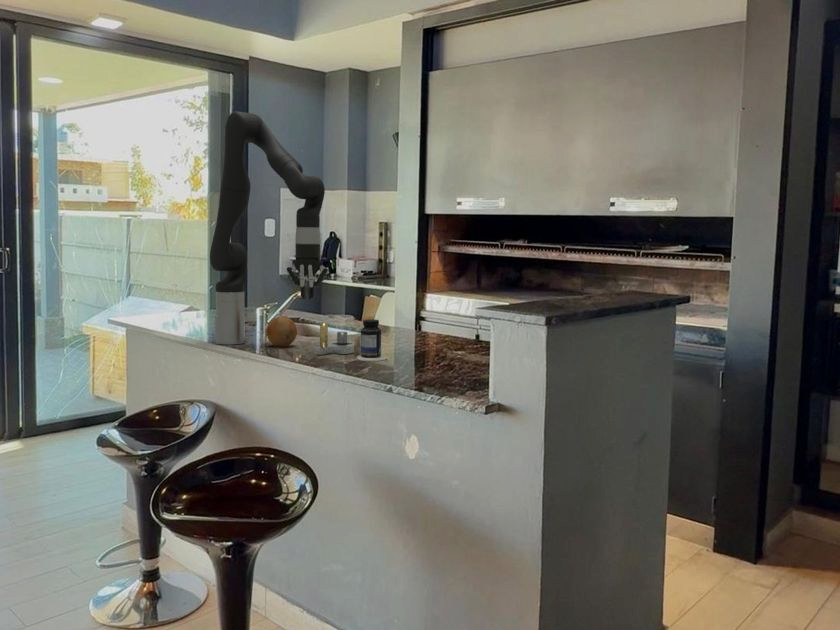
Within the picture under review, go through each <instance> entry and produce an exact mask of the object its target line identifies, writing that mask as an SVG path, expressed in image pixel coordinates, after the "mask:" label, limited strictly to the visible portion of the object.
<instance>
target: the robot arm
mask: <svg viewBox="0 0 840 630" xmlns="http://www.w3.org/2000/svg"><path fill="white" fill-rule="evenodd" d="M224 127H225V131H224V156H223V157H224V158H223V171H222V178H221V185H220V192H219V201H218V210H217V218H216V222H215V228H214V232H213V237H212V242H211V245H210V250H209V263H210V266H211V267H212V269H213V270H215V271H217V272H227V274H226V276H225V277H224V278H223V279H221V280H219V281H218V282H217V281H216V283H215V315H214V317H215V319H214V320H215V321H214V327H215V328H214V329H215V330H214V331H215V333H214V335H215V337H214V338H215V342H214V343H215V344H216V345H241V344H244V343H246V341H245V339H246V336H245V332H246V331H245V328H246V327H245V319H246V318H245V315H246V314H245V287H246V283H247V277H248V275H247V274H248V273H247V271H248V254H247V250H246V247H245V246H244V245H243V244H242V243H239V242H231V237H232V234H233V231H234V229H235V227H236V225H237V223H238V222H239V221H240V219H241V218H242V217H243V215H244V213H245V212H246V210H247V209H248V206H249V204H250V203H249V202H250V194H251V187H252V186H251V182H250V181H251V179H250V178H249V174H248V172H247V169H246V166H245V162H244V149H245V148H244V147H245V143H248V144H253V145H255V146H256V147H258V148H260V149H261V150H262V151H263V152H264V155H265V156H266V160H267V162H268V164H269V167H270V168H271V169H272V170H273V171H274V172H275V173H276V174H277V175H278V176H279V177H280V178H281V179H282V180H283V181H284V183H285V185H286V187H287V188H288V190H289V192H290V193H291V194H292V195H293V196H294V197H295V198H297V199H299V200H304V204H303V206H302V207H299V208H298V209H297V210H296V213H295V214H296V215H295V216H296V217H295V218H296V219H295V220H296V227H295V237H294V238H295V243H294V244H295V260H294V262H293V265H291V266H288V267H286V271H287V273H288V275H289V276H290V278H291V280H292V281H293V283H294V285H295V286H299V287H300V298H302V300H307V298H308V300H313V299H314V298H315V296H316V287H317V286H320V285H321V284H322V283H323V282H324V279H325V278H326V276H327V275H328V273H329V271H330V268H328V267H325V266H324V265H323V263H322V261H321V243H322V242H321V239H322V238H321V232H320V231H321V229H320V223H321V221H320V214H321V210H322V206H323V203H324V198H325V194H326V193H325V191H326V190H325V189H326V188H325V185H324V182H323V180H322V179H321V178H320V177H318V176H312V175H311V176H309V175H305V174H304V173H303V172H304V171H303V170H304V169H303V166H302V164H300V162H298V161H297V159H295V158H294V157H293V155H291V154H290V152H288V150H286V148H284V146H282V144H281V143H280V142H279V141H278V139H277V138H276V137H275V135H274V134H273V132H272V131H271V130H270V128H269V127H268V126H267V124H266V123H265V122H264V120H263V119H262V118H261V116H259V115H257V114H256V113H251V112H247V111H246V112H244V111H237V110H235V111H232V112H231V113H230V114H229V115H228V117H227V119H226V123H225V126H224ZM296 270H297V272H298V273H299V277H298V275H297V273H296ZM318 272H319V273H320V274H319V276H317V273H318ZM317 277H318V278H317ZM307 279H308V281H309V283H308V284H309V287H307ZM307 289H308V290H307ZM307 291H308V292H307ZM307 295H308V297H307Z"/></svg>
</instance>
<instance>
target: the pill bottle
mask: <svg viewBox="0 0 840 630" xmlns="http://www.w3.org/2000/svg"><path fill="white" fill-rule="evenodd" d="M362 324H363V327H362V328H361V329H360V342H361V351H360V355H361V356H362V357H365V358H377V357H380V356H381V355H382V329H381V328H380V327H379V324H380V320H379V319H371V318H370V319H363V320H362Z"/></svg>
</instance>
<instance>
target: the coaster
mask: <svg viewBox="0 0 840 630" xmlns="http://www.w3.org/2000/svg"><path fill="white" fill-rule="evenodd" d="M387 358H388V356H387V355H383V354H381V356H380V357H377V358H365V357H362V356H361V354H360V355H359V356H356V360H358V361H362V362H363V361H364V362H381V361H382V362H383V361H387Z"/></svg>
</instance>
